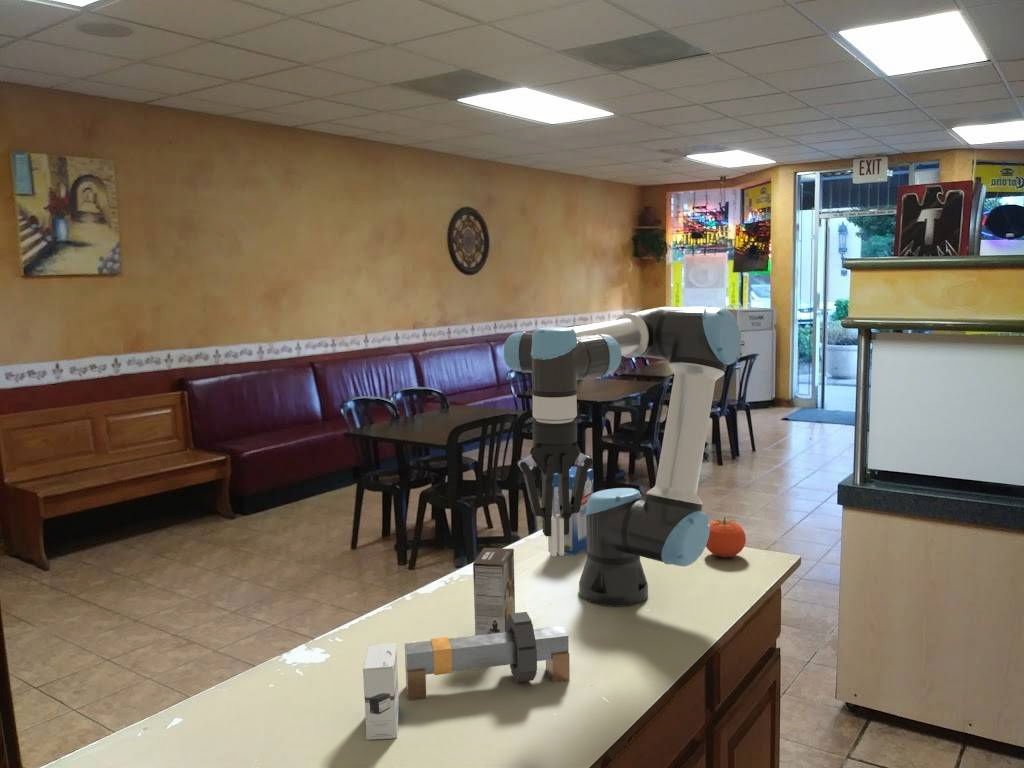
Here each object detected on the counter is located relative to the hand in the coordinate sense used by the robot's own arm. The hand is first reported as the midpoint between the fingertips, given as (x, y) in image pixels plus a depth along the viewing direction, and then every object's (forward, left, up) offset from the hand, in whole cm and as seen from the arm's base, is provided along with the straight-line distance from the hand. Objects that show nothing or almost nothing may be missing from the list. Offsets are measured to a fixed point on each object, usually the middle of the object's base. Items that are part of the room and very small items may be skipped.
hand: (556, 552), depth 139 cm
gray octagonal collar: (+7, 0, -22) cm, 23 cm away
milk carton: (-21, -63, -23) cm, 70 cm away
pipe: (+13, 0, -22) cm, 26 cm away
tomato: (-55, -47, -23) cm, 76 cm away
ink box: (+31, +9, -23) cm, 39 cm away
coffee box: (+8, -19, -23) cm, 30 cm away
